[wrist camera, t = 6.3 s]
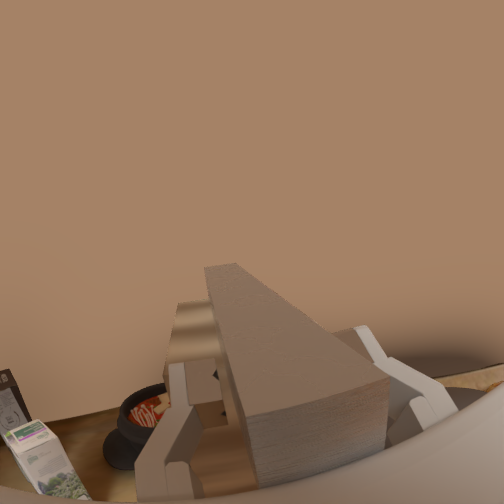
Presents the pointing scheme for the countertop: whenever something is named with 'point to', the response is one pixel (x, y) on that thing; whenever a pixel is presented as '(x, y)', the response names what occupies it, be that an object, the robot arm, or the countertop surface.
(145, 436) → the casserole
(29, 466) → the syrup box
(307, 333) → the wooden bar
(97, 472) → the countertop surface
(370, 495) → the robot arm
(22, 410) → the coffee box
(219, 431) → the wooden stand
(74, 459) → the countertop surface
